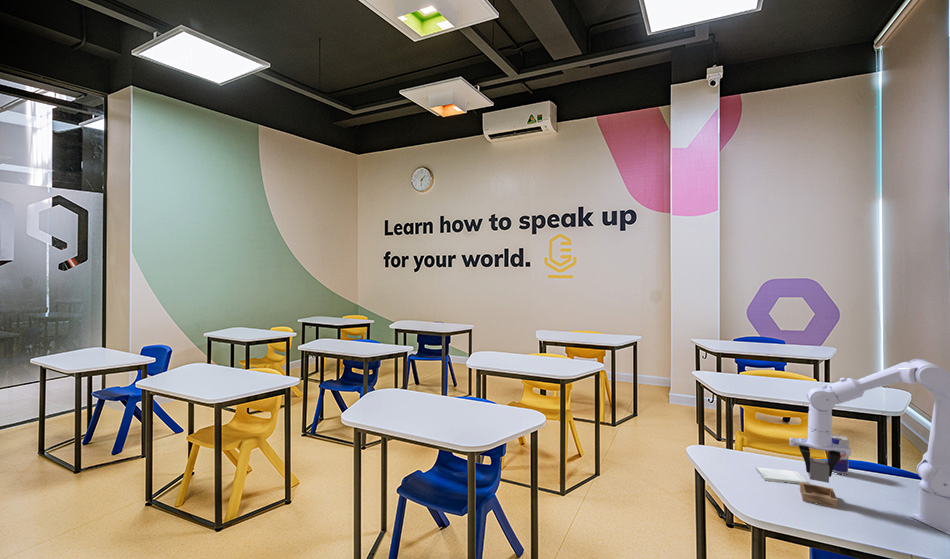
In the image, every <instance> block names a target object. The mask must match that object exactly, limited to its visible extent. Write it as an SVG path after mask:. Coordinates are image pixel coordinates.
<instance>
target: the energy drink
mask: <svg viewBox="0 0 950 559" xmlns="http://www.w3.org/2000/svg"><path fill="white" fill-rule="evenodd" d="M831 443H833V444H837V445H841V446H846V447H850V441H849V438H848V437H846V436H844V435H841V434H832V442H831ZM840 455H841V458H840V460H839V461H838V462H837V464H836V465H835V467H834V469H833V471H832V472H834V473H837V474H843V475H842V476H847V475H848V474H849V459H850V458H849V455H846V454H841V453H840ZM834 473H833V474H834ZM837 474H836V475H837ZM845 474H846V475H845Z"/></svg>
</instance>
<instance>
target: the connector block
mask: <svg viewBox="0 0 950 559" xmlns="http://www.w3.org/2000/svg"><path fill="white" fill-rule="evenodd" d="M807 474H808V478H809V479H810V480H813V481H818V482H821V483H822V482H823V483H826V484H827V483H828V484H829V483H830V477H829V464H828V459H826V460H825V459H821V458H816V457H810V473H808V472H807Z"/></svg>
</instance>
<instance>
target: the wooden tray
mask: <svg viewBox="0 0 950 559" xmlns="http://www.w3.org/2000/svg"><path fill="white" fill-rule="evenodd" d="M799 491H800V495H801V499H802V502H806V503H809V502H811V503H810V504H814V503H817V504H816V505H818V504H820V506H824V507H827V508H829V507H830V508H832V509H838V498H837V496H836V493H835V490H834V488H832V487H827V486H822V485H816V484H812V483H808V484H807V483H802V482H800V484H799Z"/></svg>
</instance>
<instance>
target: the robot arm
mask: <svg viewBox="0 0 950 559" xmlns="http://www.w3.org/2000/svg"><path fill="white" fill-rule="evenodd" d="M899 382H900V383H904V384H910V385H916V383H915V382H917V383H919V384H920V385H921V386H923V387H924V388H925V389H926V390H927V391H928V392H930V393H931V394H932V395H933V396H934V403H933V409H932V416H931V422H930V423H931V424H930V430H929V439H928V445H927V451H926V452H925V453H924V454H922V460H921V461H920V462H919V463H918V464H917V465H916V473H917V475H918V477H919V478H920V479H921V480H920V482H919V483H918V505H917V513H916V512H915V513H912V514H911V513H910V514H909V517H910V518H911V519H915V520H917V521H919V522H921V523H923V524H925V525H927V526H929V527H932V528H934V529H936V530H938V531H940V532H943V533H945V534H947V535H949V536H950V372H948V371H946V370H945V369H944V368H942V367H941V366H939V365H935V364H934V363H932V362H930V361H928V360H927V359H923V358H914V359H911V360H909V361H904V362H899V363H897V364H896V365H892V366H891V367H888V368H885V369H882V370H880V371H878V372H875V373H872V374H869V375H867V376H864V377H861V378H859V379H855V378H851V377H848V378H845V377H840V378H839V381H836V382H833V383H830V384H823V385H821V386H822V387H820V386H819V387H818V386H817V387H816V386H815V387H813V388H811V389H810V390H809V391H808V393H807V394H806V398H807V400H808V402H809V405H808V414H807V415H808V418H807V438H799V437H798V438H796V437H789V446H790V447H798V448H799V451H800V453H801V456H802V458H803V460H804V464H805V470H806V473H807V474H808V473H810V458H811V452H810V451H811V450H810V449H813V450H818V451H825V452H827V462H828V464H829V478H830V477H832V475H833V473H832V471H833V469H834V467H835V465H836V464H837V462H838V461H839V460H840V458H841V455H840V453H841V454H846V455H849V456H851V454H852V449H851V447H850V446H849V447H846V446H841V445H837V444H833V443H831V442H832V435H833V434H832V433H833V415H832V413H833V409H834V407H835V406H836V405H840V404H844V403H846V402H849V401H853V400H856V399H858V398H861V397H863V395H864V393H865V392H866V391H869V390H872V389H876V388H881V387H884V386H888V385H891V384H894V383H899Z"/></svg>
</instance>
